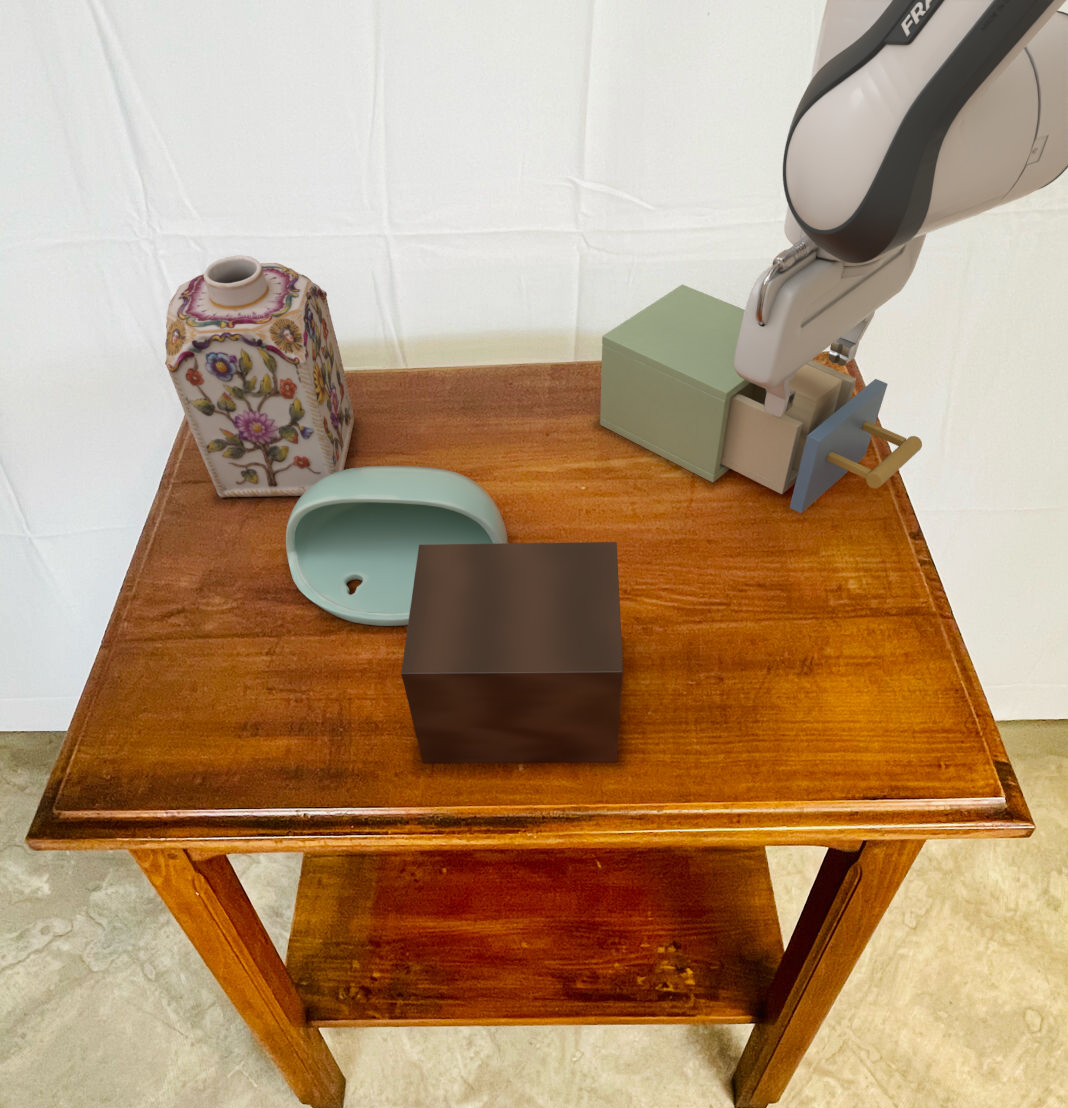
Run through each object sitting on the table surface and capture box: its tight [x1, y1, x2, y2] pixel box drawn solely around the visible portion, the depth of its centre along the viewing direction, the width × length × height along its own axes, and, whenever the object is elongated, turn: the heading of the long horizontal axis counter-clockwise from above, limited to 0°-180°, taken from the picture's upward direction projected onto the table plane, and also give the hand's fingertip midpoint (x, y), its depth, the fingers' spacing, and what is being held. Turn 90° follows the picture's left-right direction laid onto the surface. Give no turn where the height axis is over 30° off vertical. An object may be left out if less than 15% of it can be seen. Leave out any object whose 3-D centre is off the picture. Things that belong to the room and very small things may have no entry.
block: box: [784, 364, 842, 471], centre depth 78 cm, size 4×4×7 cm
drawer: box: [720, 359, 923, 514], centre depth 78 cm, size 18×10×7 cm, turn 47°
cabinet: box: [599, 284, 750, 484], centre depth 83 cm, size 14×12×9 cm
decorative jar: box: [164, 255, 355, 499], centre depth 79 cm, size 12×12×18 cm
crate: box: [400, 541, 624, 764], centre depth 64 cm, size 14×12×10 cm
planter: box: [285, 465, 509, 627], centre depth 75 cm, size 19×7×16 cm
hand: (809, 384), depth 75 cm, fingers open, 8 cm apart
